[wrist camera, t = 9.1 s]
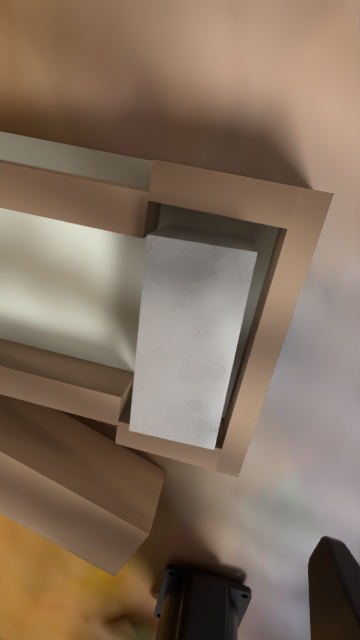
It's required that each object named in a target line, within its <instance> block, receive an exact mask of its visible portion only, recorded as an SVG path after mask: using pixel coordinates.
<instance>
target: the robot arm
mask: <svg viewBox="0 0 360 640" xmlns="http://www.w3.org/2000/svg"><path fill="white" fill-rule="evenodd" d="M308 578H309V604H310V629H311V640H360V565H359V564H358V562H357V561H356V559H355V558H354V557H353V555H352V554H351V552H350V551H349V549H348V548H347V546H346V545H345V544H344V543H343V542H342V541H340V540H338V539H334V538H331V537H328V536H324V537H322V538H321V539H320V541H319V543H318V544H317V546H316V548H315V549H314V551H313V553H312V555H311V556H310V559H309V563H308ZM251 597H252V596H251V589H250V588H249V587H247V586H244V585H241V584H238V583H234V582H231V581H228V580H225V579H221V578H218V577H215V576H211V575H208V574H205V573H201V572H198V571H195V570H192V569H188V568H185V567H182V566H178V565H175V564H168V565H167V566H166V569H165V573H164V577H163V580H162V584H161V588H160V592H159V596H158V600H157V604H156V607H155V612H154V616H155V617H156V618H158V619H160V621H159V626H158V631H157V636H156V640H238V627H239V625H240V623H241V620H242V618H243V616H244V614H245V611H246V609H247V607H248V605H249V602H250V600H251Z"/></svg>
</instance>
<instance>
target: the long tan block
mask: <svg viewBox="0 0 360 640" xmlns="http://www.w3.org/2000/svg"><path fill="white" fill-rule="evenodd" d="M165 475H166V471H165V470H163V469H161V468H160V467H158V466H156V465H154V464H153V463H151V462H149V461H147V460H146V459H144V458H142V457H140V456H139V455H137V454H135V453H133V452H132V451H130V450H128V449H126V448H125V447H123V446H121V445H119V444H116V443H115V442H114V441H112V440H111V439H109V438H107V437H105V436H104V435H102V434H100V433H98V432H96V431H95V430H93V429H91V428H89V427H88V426H86V425H84V424H82V423H81V422H79V421H77V420H75V419H74V418H72V417H70V416H68V415H67V414H65V413H63V412H61V411H60V410H57V409H54V408H50V407H46V406H42V405H39V404H35V403H31V402H28V401H24V400H20V399H17V398H13V397H9V396H5V395H2V394H0V514H2V515H4V516H6V517H7V518H9V519H11V520H13V521H15V522H17V523H18V524H20V525H22V526H24V527H26V528H27V529H29V530H31V531H33V532H35V533H36V534H38V535H40V536H42V537H44V538H46V539H47V540H49V541H51V542H53V543H55V544H56V545H58V546H60V547H62V548H64V549H66V550H67V551H69V552H71V553H73V554H75V555H76V556H78V557H80V558H82V559H84V560H86V561H87V562H89V563H91V564H93V565H95V566H96V567H98V568H100V569H102V570H104V571H106V572H107V573H109V574H111V575H113V576H115V575H116V574H117V573H118V572H119V571H120V569H121V568H122V567H123V566H124V565H125V564H126V562H127V561H128V560H129V559H130V558H131V556H132V555H133V554H134V553H135V552H136V550H137V549H138V548H139V547H140V546H141V544H142V543H143V542H144V541H145V540H146V538H147V537H148V536H149V535H150V531H151V528H152V524H153V520H154V516H155V512H156V509H157V505H158V501H159V497H160V494H161V490H162V486H163V482H164V479H165Z"/></svg>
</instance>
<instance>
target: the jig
mask: <svg viewBox="0 0 360 640" xmlns="http://www.w3.org/2000/svg"><path fill="white" fill-rule="evenodd" d="M332 197H333V193H328V192H322V191H317V190H312V189H307V188H302V187H297V186H291V185H286V184H281V183H276V182H271V181H265V180H260V179H255V178H250V177H245V176H240V175H234V174H229V173H224V172H219V171H214V170H208V169H203V168H198V167H193V166H188V165H182V164H177V163H172V162H167V161H162V160H157V159H154V160H153V161H151V160H146V159H141V158H135V157H130V156H125V155H120V154H115V153H110V152H104V151H99V150H94V149H89V148H84V147H78V146H73V145H68V144H63V143H58V142H53V141H47V140H42V139H37V138H32V137H27V136H22V135H16V134H11V133H6V132H1V131H0V394H2V395H5V396H9V397H13V398H17V399H20V400H24V401H28V402H31V403H35V404H39V405H42V406H46V407H50V408H54V409H57V410H61V411H65V412H68V413H72V414H76V415H79V416H83V417H87V418H91V419H94V420H98V421H102V422H105V423H109V424H113V425H116V426H117V433H116V440H115V443H116V444H119V445H123V446H127V447H130V448H134V449H138V450H141V451H145V452H149V453H152V454H156V455H159V456H163V457H167V458H170V459H174V460H178V461H181V462H185V463H188V464H192V465H196V466H199V467H203V468H207V469H210V470H214V471H218V472H221V473H225V474H228V475H232V476H236V477H238V476H239V473H240V470H241V467H242V464H243V461H244V458H245V455H246V452H247V449H248V446H249V443H250V440H251V437H252V434H253V431H254V428H255V425H256V422H257V419H258V416H259V413H260V411H261V408H262V405H263V402H264V399H265V396H266V393H267V390H268V387H269V384H270V381H271V378H272V375H273V372H274V369H275V366H276V363H277V360H278V357H279V354H280V351H281V348H282V345H283V342H284V339H285V336H286V333H287V330H288V328H289V325H290V322H291V319H292V316H293V313H294V310H295V307H296V304H297V301H298V298H299V295H300V292H301V289H302V286H303V283H304V280H305V277H306V274H307V271H308V268H309V265H310V262H311V259H312V256H313V253H314V250H315V248H316V245H317V242H318V239H319V236H320V233H321V230H322V227H323V224H324V221H325V218H326V215H327V212H328V209H329V206H330V203H331V200H332ZM168 224H171V225H178V226H184V227H190V228H197V229H203V230H209V231H216V232H222V233H229V234H235V235H241V236H248V237H254V240H255V244H256V248H257V252H258V253H257V257H256V262H255V266H254V271H253V275H252V280H251V284H250V289H249V294H248V298H247V303H246V307H245V312H244V316H243V321H242V325H241V330H240V335H239V339H238V344H237V348H236V353H235V357H234V362H233V366H232V371H231V376H230V380H229V385H228V389H227V394H226V398H225V403H224V407H223V412H222V416H221V421H220V426H219V430H218V435H217V439H216V444H215V448H214V450H212V449H207V448H203V447H199V446H194V445H190V444H185V443H181V442H177V441H172V440H168V439H164V438H159V437H155V436H150V435H146V434H142V433H137V432H133V431H129V426H130V416H131V405H132V394H133V383H134V372H135V361H136V350H137V339H138V328H139V317H140V306H141V295H142V284H143V274H144V263H145V252H146V241H147V234H149V233H151V232H154V231H156V230H158V229H160V228H162V227H164V226H166V225H168Z"/></svg>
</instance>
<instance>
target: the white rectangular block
mask: <svg viewBox="0 0 360 640" xmlns="http://www.w3.org/2000/svg"><path fill="white" fill-rule="evenodd" d="M257 253H258V252H257V248H256V244H255V240H254V237H248V236H241V235H235V234H229V233H222V232H216V231H209V230H203V229H197V228H190V227H184V226H178V225H171V224H168V225H166V226H164V227H162V228H160V229H158V230H156V231H154V232H151V233H149V234H147V241H146V252H145V263H144V274H143V284H142V295H141V306H140V317H139V328H138V339H137V350H136V361H135V372H134V383H133V394H132V405H131V416H130V426H129V431H133V432H137V433H142V434H146V435H150V436H155V437H159V438H164V439H168V440H172V441H177V442H181V443H185V444H190V445H194V446H199V447H203V448H207V449H212V450H214V448H215V444H216V439H217V435H218V430H219V426H220V421H221V416H222V412H223V407H224V403H225V398H226V394H227V389H228V385H229V380H230V376H231V371H232V366H233V362H234V357H235V353H236V348H237V344H238V339H239V335H240V330H241V325H242V321H243V316H244V312H245V307H246V303H247V298H248V294H249V289H250V284H251V280H252V275H253V271H254V266H255V262H256V257H257Z"/></svg>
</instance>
